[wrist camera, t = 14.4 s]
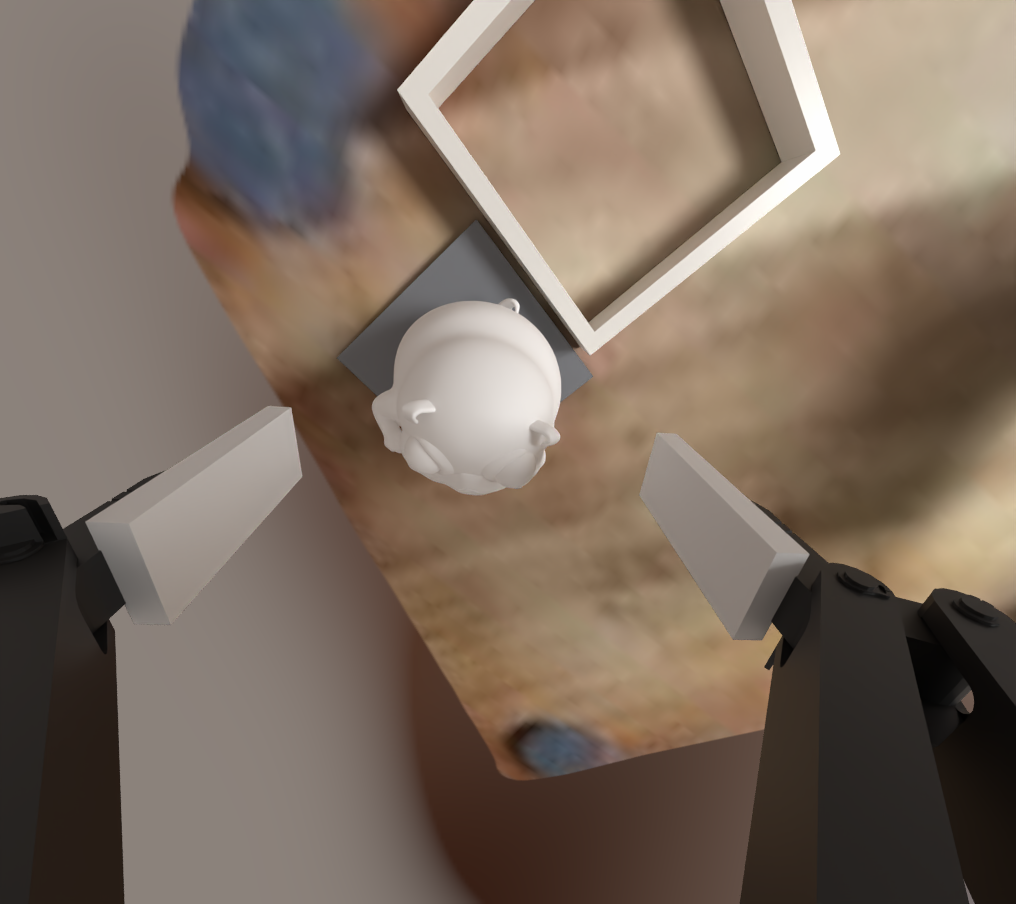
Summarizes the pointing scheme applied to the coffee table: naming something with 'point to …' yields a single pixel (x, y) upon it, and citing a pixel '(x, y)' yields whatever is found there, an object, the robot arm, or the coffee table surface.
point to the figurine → (472, 397)
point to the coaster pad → (453, 278)
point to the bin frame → (803, 152)
